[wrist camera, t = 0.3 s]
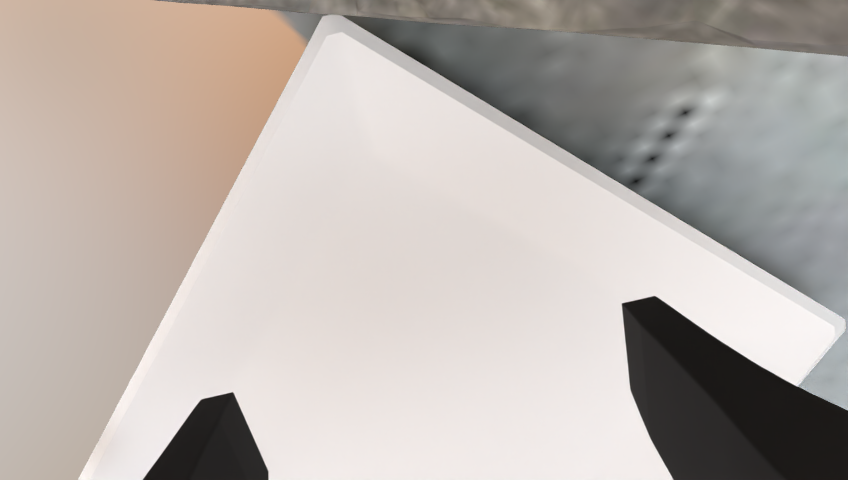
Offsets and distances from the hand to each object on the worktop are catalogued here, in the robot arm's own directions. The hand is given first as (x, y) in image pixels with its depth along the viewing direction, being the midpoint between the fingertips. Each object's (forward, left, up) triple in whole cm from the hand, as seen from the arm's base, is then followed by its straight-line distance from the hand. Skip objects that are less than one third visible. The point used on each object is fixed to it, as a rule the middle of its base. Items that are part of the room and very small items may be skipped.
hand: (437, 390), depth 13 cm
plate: (-5, -4, -11) cm, 13 cm away
